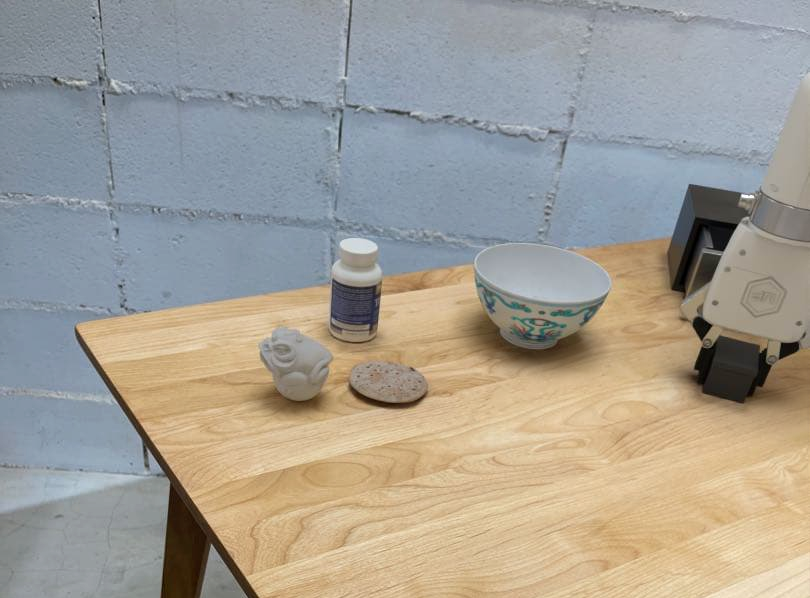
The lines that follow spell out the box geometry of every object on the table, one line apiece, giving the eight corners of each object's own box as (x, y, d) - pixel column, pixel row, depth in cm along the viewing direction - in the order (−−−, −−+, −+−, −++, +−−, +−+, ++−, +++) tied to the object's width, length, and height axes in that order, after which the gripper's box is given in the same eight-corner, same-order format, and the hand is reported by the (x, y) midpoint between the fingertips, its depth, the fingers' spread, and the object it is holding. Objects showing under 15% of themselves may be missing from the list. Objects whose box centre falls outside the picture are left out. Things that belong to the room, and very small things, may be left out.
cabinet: (760, 306, 109) (790, 233, 103) (671, 289, 110) (695, 216, 104) (748, 267, 119) (775, 198, 113) (667, 252, 120) (689, 183, 113)
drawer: (772, 347, 98) (800, 284, 93) (683, 331, 99) (706, 267, 94) (755, 289, 111) (778, 230, 106) (676, 274, 112) (696, 216, 106)
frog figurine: (256, 381, 83) (255, 315, 78) (327, 379, 84) (330, 315, 79) (261, 415, 78) (260, 348, 74) (336, 413, 80) (339, 347, 75)
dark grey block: (705, 366, 95) (718, 334, 92) (746, 377, 94) (760, 345, 91) (700, 392, 90) (713, 359, 87) (744, 404, 89) (758, 371, 87)
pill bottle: (382, 343, 91) (390, 256, 85) (333, 344, 90) (338, 256, 83) (371, 319, 95) (378, 234, 88) (324, 320, 93) (328, 234, 87)
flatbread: (438, 381, 86) (439, 372, 85) (408, 415, 80) (409, 406, 80) (367, 358, 88) (368, 349, 87) (333, 390, 82) (334, 381, 82)
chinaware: (610, 330, 99) (628, 267, 94) (568, 383, 89) (586, 316, 83) (494, 293, 103) (505, 231, 98) (442, 340, 93) (451, 273, 88)
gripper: (700, 209, 79) (643, 378, 91) (888, 251, 75) (804, 421, 87) (706, 186, 84) (652, 349, 96) (882, 224, 81) (804, 388, 93)
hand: (725, 381), depth 92 cm, fingers closed on dark grey block, 4 cm apart
